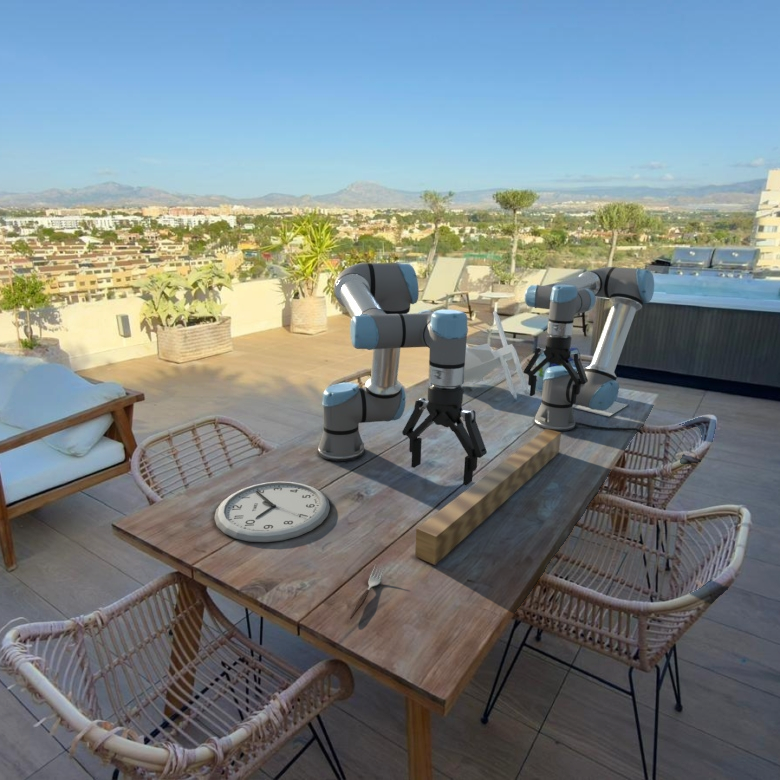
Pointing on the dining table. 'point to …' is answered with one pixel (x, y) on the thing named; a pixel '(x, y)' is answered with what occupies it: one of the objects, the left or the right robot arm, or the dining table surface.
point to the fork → (372, 582)
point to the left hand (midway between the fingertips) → (441, 474)
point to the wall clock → (272, 511)
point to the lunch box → (542, 371)
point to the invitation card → (610, 411)
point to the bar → (483, 498)
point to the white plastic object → (492, 361)
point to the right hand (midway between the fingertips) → (552, 399)
